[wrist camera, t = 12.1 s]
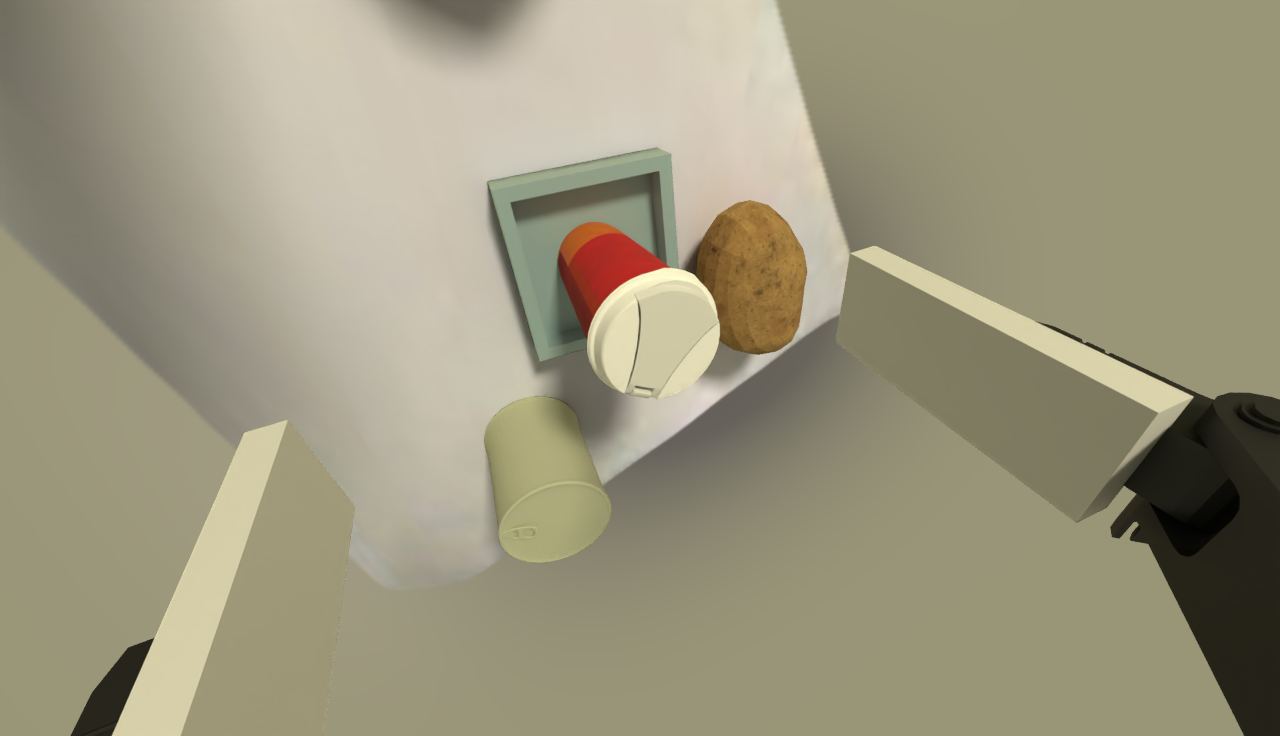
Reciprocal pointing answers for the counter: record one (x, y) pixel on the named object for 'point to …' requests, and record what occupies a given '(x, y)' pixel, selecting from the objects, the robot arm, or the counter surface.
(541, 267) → the tray
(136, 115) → the counter surface
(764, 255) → the potato
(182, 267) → the counter surface
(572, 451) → the can
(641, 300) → the coffee cup
